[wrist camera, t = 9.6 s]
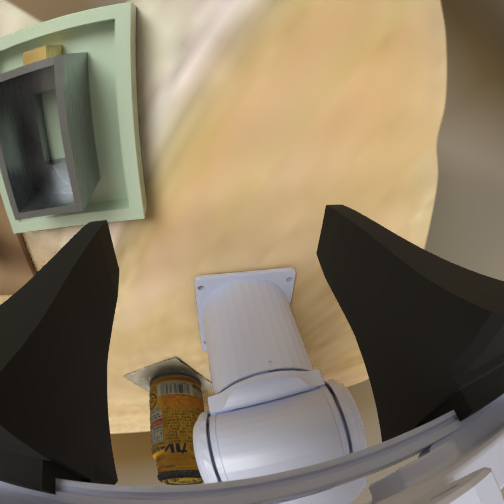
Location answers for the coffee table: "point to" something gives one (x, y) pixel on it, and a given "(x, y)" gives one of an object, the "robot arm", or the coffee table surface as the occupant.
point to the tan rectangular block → (12, 257)
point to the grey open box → (35, 135)
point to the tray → (103, 110)
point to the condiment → (173, 417)
